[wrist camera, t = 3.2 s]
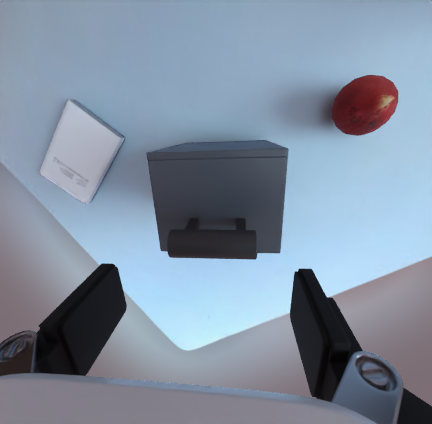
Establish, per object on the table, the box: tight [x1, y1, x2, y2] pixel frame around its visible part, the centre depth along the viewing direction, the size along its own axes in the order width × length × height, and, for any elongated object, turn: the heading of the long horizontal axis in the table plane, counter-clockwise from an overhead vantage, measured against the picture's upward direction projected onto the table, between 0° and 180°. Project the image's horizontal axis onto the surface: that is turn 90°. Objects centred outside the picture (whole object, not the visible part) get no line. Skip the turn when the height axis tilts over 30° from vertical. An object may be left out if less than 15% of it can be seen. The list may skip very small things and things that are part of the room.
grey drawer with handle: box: [147, 140, 288, 259], centre depth 22 cm, size 19×11×9 cm
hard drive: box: [39, 99, 125, 204], centre depth 32 cm, size 2×8×12 cm
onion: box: [332, 75, 398, 135], centre depth 23 cm, size 6×6×8 cm
